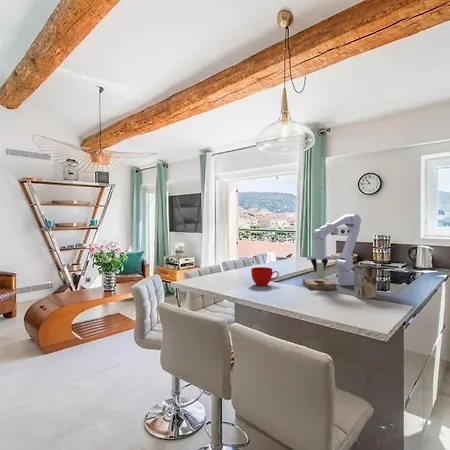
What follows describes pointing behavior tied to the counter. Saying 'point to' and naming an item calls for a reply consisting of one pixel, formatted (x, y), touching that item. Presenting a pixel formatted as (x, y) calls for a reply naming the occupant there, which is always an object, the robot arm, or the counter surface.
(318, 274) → the peg
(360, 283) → the coffee box
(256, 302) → the counter surface
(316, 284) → the socket block
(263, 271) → the ceramic cup
